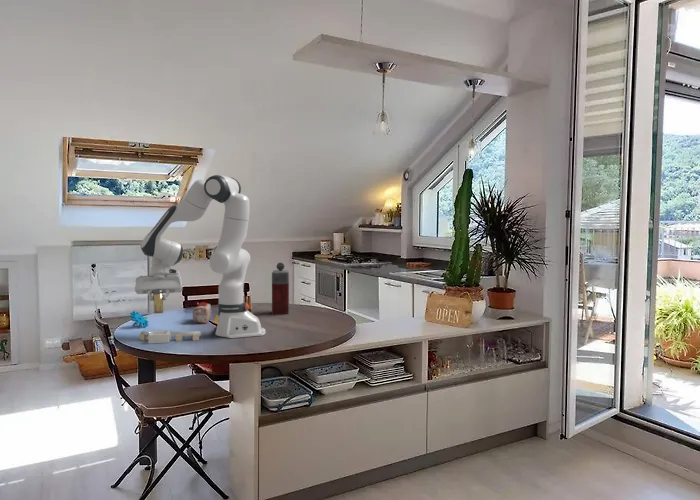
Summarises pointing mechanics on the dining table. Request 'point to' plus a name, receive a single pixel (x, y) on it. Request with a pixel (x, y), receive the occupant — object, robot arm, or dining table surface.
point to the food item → (202, 313)
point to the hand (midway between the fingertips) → (157, 299)
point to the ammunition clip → (248, 303)
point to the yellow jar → (158, 301)
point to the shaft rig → (166, 336)
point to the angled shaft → (144, 335)
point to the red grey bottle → (280, 290)
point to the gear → (139, 319)
